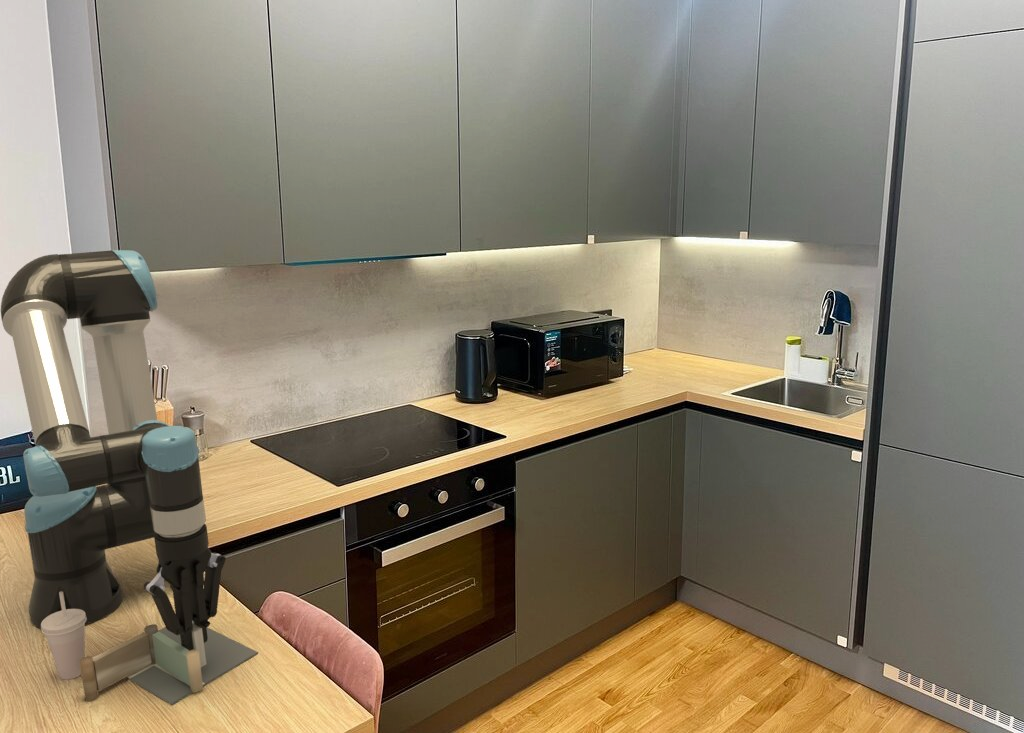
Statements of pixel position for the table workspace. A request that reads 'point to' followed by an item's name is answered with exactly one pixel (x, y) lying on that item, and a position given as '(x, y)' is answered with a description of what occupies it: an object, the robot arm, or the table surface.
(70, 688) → the table surface
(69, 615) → the smoothie
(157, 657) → the gate panel
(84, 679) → the base
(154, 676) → the card
